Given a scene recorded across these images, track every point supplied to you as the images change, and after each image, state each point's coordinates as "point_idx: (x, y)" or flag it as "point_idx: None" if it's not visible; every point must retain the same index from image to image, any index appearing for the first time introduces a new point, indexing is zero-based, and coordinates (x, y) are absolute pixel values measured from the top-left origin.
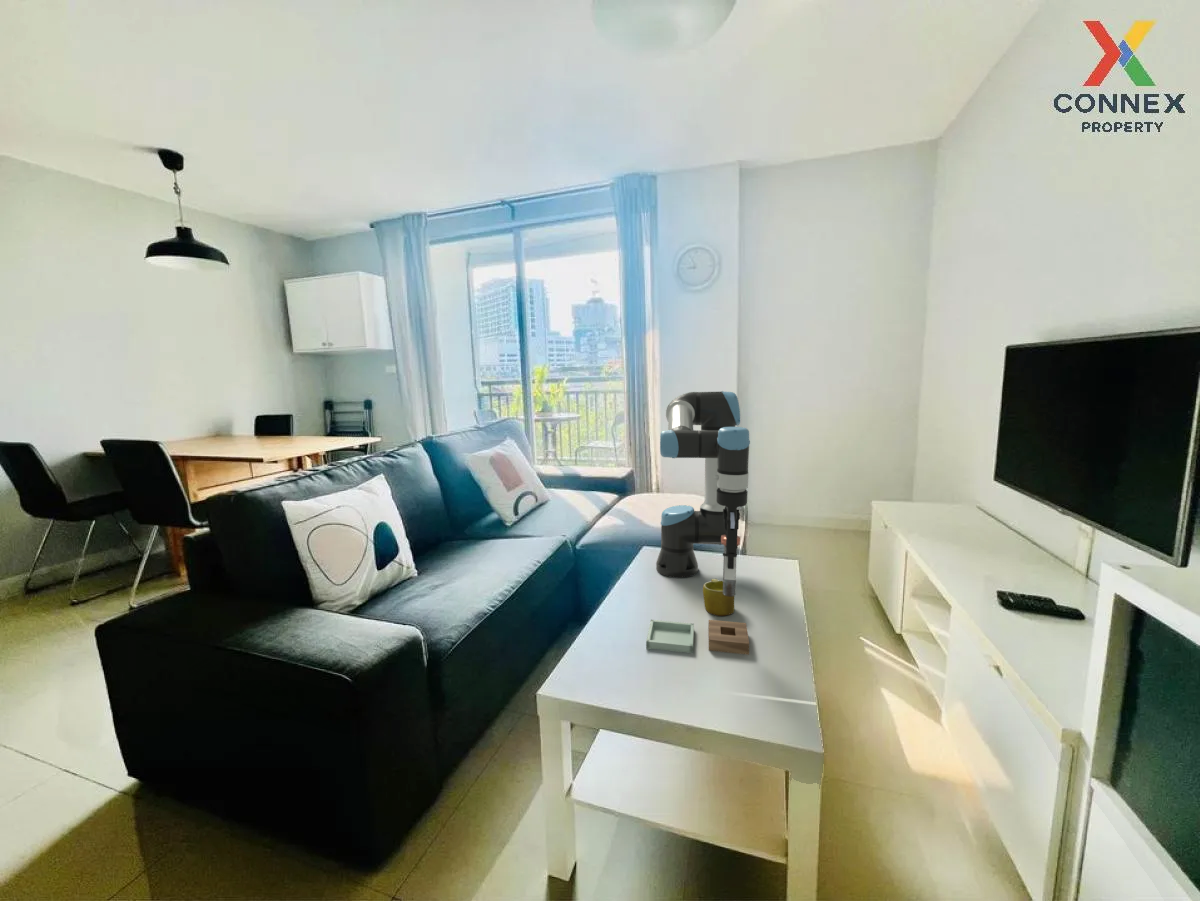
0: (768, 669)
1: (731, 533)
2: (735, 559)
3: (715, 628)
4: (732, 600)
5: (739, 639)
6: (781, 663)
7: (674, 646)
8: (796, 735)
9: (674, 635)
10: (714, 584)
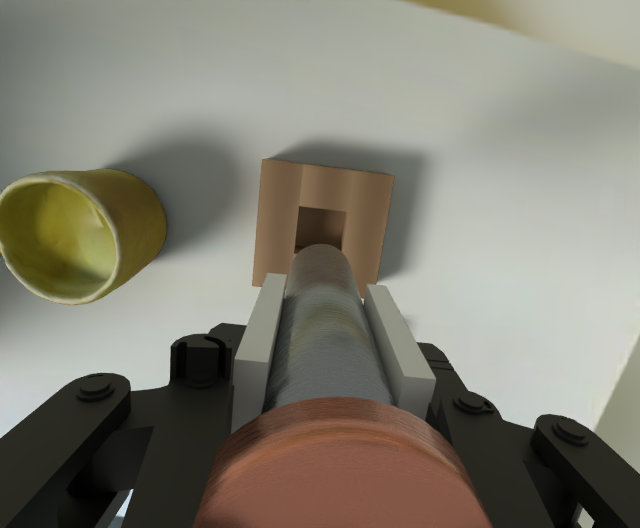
0: (449, 128)
1: None
2: (425, 364)
3: None
4: (119, 186)
5: (370, 204)
6: (420, 77)
7: None
8: None
9: None
10: (16, 248)
